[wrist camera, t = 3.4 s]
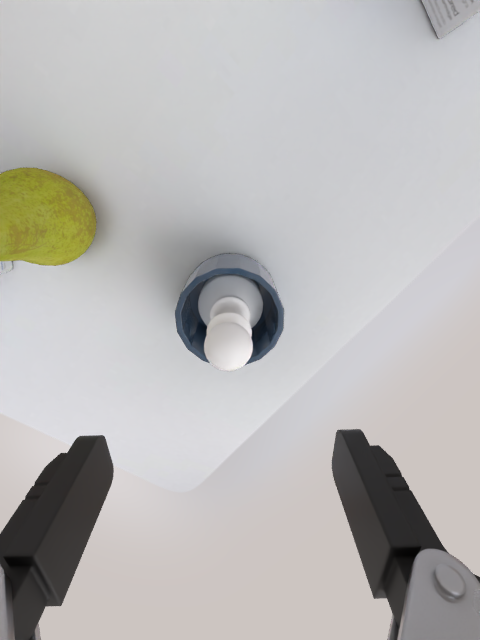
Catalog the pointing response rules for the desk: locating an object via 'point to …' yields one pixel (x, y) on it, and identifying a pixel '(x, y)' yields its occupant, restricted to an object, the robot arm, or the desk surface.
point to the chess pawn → (229, 319)
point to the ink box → (450, 13)
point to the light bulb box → (5, 266)
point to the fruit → (43, 218)
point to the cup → (195, 328)
